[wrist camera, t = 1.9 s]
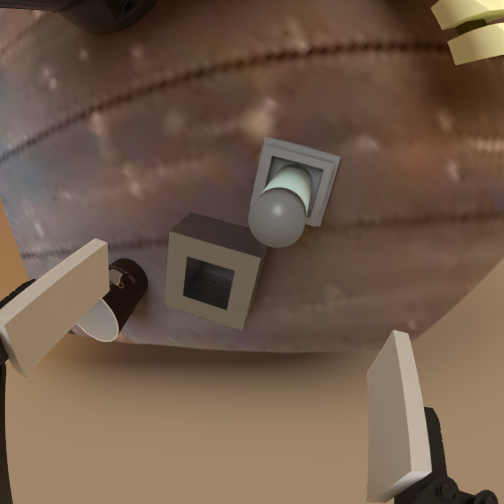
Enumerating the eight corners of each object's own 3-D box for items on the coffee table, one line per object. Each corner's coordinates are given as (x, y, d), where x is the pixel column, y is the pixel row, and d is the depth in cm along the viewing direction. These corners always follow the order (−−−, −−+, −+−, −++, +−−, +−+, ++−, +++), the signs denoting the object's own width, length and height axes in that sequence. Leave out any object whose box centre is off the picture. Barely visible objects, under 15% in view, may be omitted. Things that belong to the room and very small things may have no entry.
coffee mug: (164, 283, 44) (129, 326, 35) (136, 310, 48) (103, 350, 39) (109, 225, 42) (63, 256, 33) (86, 258, 46) (46, 290, 37)
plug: (279, 159, 32) (254, 187, 22) (316, 169, 32) (311, 203, 21) (271, 194, 34) (243, 239, 23) (307, 205, 34) (296, 254, 23)
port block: (191, 212, 38) (169, 231, 33) (271, 234, 37) (260, 258, 32) (183, 280, 43) (164, 304, 38) (253, 302, 42) (242, 331, 37)
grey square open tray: (266, 135, 32) (261, 138, 30) (340, 155, 31) (341, 160, 29) (251, 204, 36) (245, 212, 33) (320, 223, 35) (319, 233, 32)
